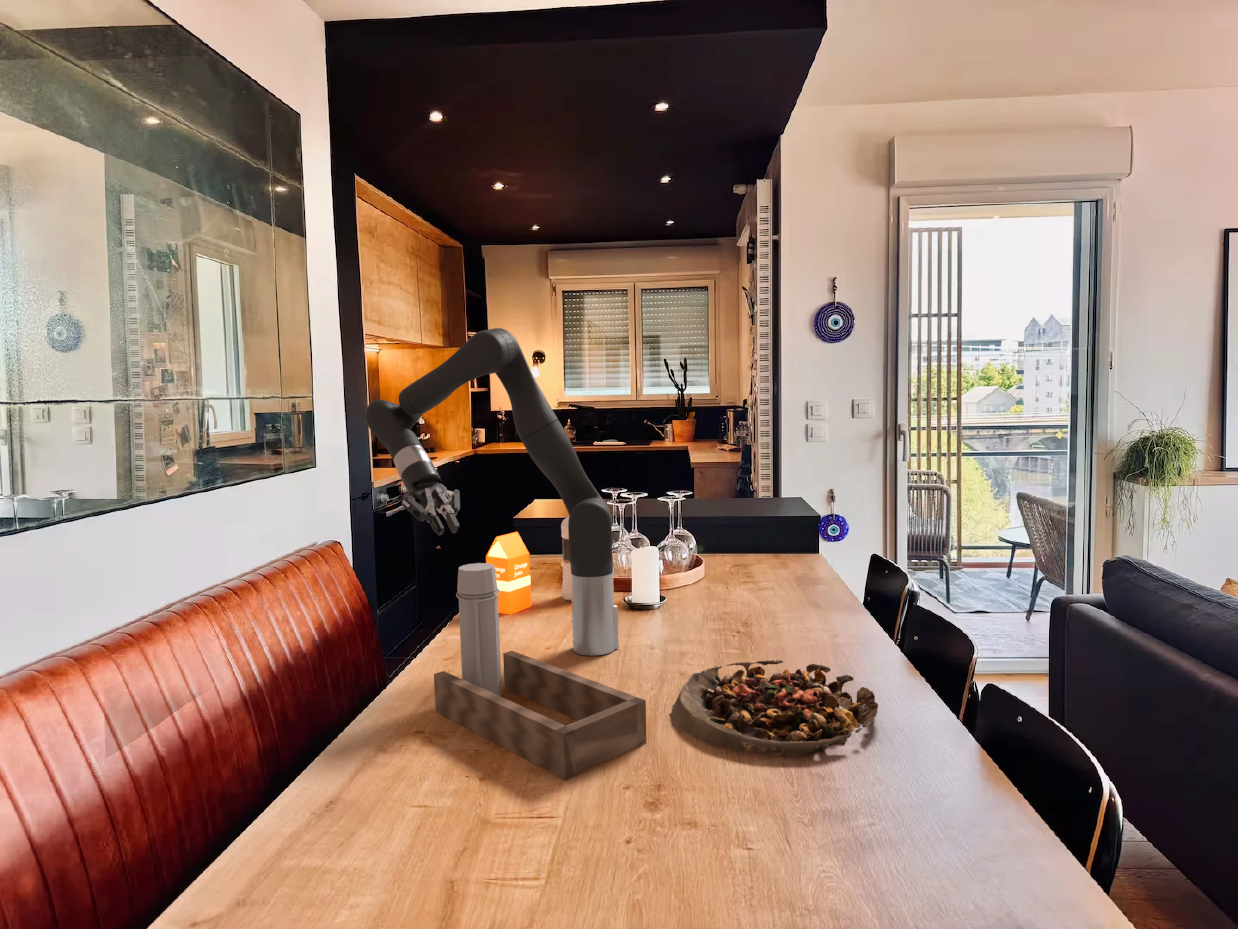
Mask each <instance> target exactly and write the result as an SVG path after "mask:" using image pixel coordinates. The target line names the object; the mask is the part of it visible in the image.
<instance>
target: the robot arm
mask: <svg viewBox="0 0 1238 929" xmlns="http://www.w3.org/2000/svg"><path fill="white" fill-rule="evenodd" d="M530 368H531V367H530V366H529V364H528V362H527V360H526V357H525V355H524V352H523V350H522V348H521V346H520V344H519V342H518V340H517V339H516V337H515V336H514V335H513V333H511V332H510V331H509V330H507V329H504V328H501V327H495V328H490V329H483V330H480V331H477V332H476V333H475V334H473V335H472V336H471V337H470V338H469V339H467V341H466V342H464V343H463V345H461V346H460V348H458V349H457V350H456V352H455V353H453V354H452V355H451V356H450V357H449V358H448V359H446V360H445V361H444V362H442V363H441V364H440V365H438V366H436V367H435V368H434V369H432V370H431V371H429V372H428V373H426V374H424V375H423V376H421V377H420V378H418V379H416V380H415V381H413V382H412V383H411V384H408V385H407V386H406V387H405V388H403V389H402V390H401V391H400V392H399V394H398V403H396V402H391V401H389V400H384V399H375V400H373V401H371V402H370V403H369V404H368V405H367V407H366V409H365V414H364V415H365V417H364V418H365V421H366V422H365V423H366V424H367V426H368V428H369V430H370V431H371V433H372V434H373V435H374V436H375V437H376V439H378V441H379V442H380V443H381V444H382V445H383V446H384V447H385V448H386V449H387V451H388V453H389V455H390V457H391V459H392V461H393V464H394V466H395V470H396V471H397V474H398V475H399V478H400V479H401V482H402V483H403V485H404V487H405V489H406V491H407V493H408V495H407V494H406V495H405V496H404V498H403V500H402V502H401V506H402V507H403V508H404V509H405V510H406V511H407V512H408V513H410V514H411V516H413V518H415V519H416V520H418V521H419V522H424V521H426V522H427V523H429V524H430V526H431V528H432V530H433V532H434V533H435V534H437V536H442V535H443V534H444V532H445V527H444V525H443V523H442V521H441V519H440V517H439V516H438V515H437V512H438V514H441V515H442V516H443V517H444V519H445V522H446V524H447V526H448V528H449V530H450V532H451V533H452V534H456V533H457V532H458V530H459V527H460V523H459V521H458V518H457V517H456V516H457V515H458V513H459V511H460V509H461V498H460V497H461V496H460V495H461V494H460V490H459V489H454V490H453V491H451V490H448V489H447V487H446V486H445V485H443V483H442V479H441V476H440V475H439V472H438V471H437V469H436V467H435V465H434V463H433V461H432V459H431V458H430V456H429V454H428V453H427V452H426V451H425V449H424V448H423V446H422V444H421V441H420V440H419V438H418V437H417V435H416V433H415V432H414V431H412V430H411V429H412V428H413V427H414V425H415V424H416V423H418V421H419V420H420V418H421V417H422V416H423V415H424V414H426V413H428V412H429V411H431V410H433V409H434V408H435V407H437V406H438V405H440V404H441V403H443V402H444V401H445V400H446V399H448V398H449V397H450V396H451V395H452V394H453V393H454V392H455V391H456V390H457V389H459V388H460V387H461V386H463V385H465V384H467V383H468V382H470V381H473V380H476V379H478V378H480V377H484V376H485V375H489V374H491V375H492V374H495V375H496V376H497V377H498V380H499V381H500V382H501V384H502V386H503V387H504V390H505V391H506V393H507V395H508V398H509V402H510V406H511V411H512V417H513V422H514V426H515V430H516V432H517V435H518V437H519V439H520V441H521V443H522V444H523V446H524V448H525V450H526V452H527V453H528V456H529V457H530V458H531V459H532V461H533V462H534V464H535V465H536V466H537V467H538V469H539V470H540V471H541V472H542V473H543V475H544V476H545V477H546V478H547V480H548V481H550V482H551V484H552V485H553V486H554V488H555V489H556V491H557V492H558V495H559V496H560V498H561V500H562V503H563V504H564V507H565V509H566V511H567V514H568V516H569V521H568V534H569V558H570V565H571V591H572V601H571V619H572V621H571V624H572V650H573V652H574V653H575V654H578V655H581V656H591V657H593V656H603V655H606V654H610V653H612V652H614V651H615V650H617V649H619V641H620V640H619V608H618V605H616V604H615V601H614V600H615V598H614V597H615V596H614V594H615V593H614V592H615V591H614V590H615V588H614V587H615V586H614V556H613V534H612V533H613V529H612V527H613V526H612V524H613V515H612V511H611V509H610V507H609V505H608V504H607V503H606V501H605V499H603V497H602V495H600V493H599V492H598V491H597V489H596V487H595V486H594V485H593V483H592V482H591V480H590V479H589V477H588V476H587V474H586V472H585V470H584V468H583V466H582V464H581V461H580V459H579V456H578V454H577V452H576V450H575V448H574V447H573V444H572V442H571V440H570V438H569V436H568V435H567V433H566V431H565V429H564V427H563V425H562V424H561V422H560V420H559V419H558V417H557V415H556V413H555V412H554V410H553V409H552V407H551V405H550V404H549V402H548V400H547V398H546V396H545V395H544V392H543V390H541V387H540V386H539V384H538V382H537V380H536V379H535V377H534V375H533V373H532V370H531V369H530ZM436 511H437V512H436Z"/></svg>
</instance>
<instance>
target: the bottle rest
mask: <svg viewBox="0 0 1238 929" xmlns="http://www.w3.org/2000/svg"><path fill="white" fill-rule="evenodd" d="M502 654H503V655H502V658H503V680H504V681H503V684H504V689H505V690H506V691H509V692H511V693H514V694H516V695H518V696H520V697H523V698H525V699H527V700H530V701H532V702H535V703H537V704H540V705H541V706H543V707H545V708H547V709H550V710H553V711H555V712H558V713H560V714H562V715H564V716H566V717H569V718H571V719H573V720H576V721H574V722H572V723H569V724H567V725H565V724H562V723H561V722H559V721H556V720H554V719H551V718H549V717H547V716H545V715H543V714H540V713H538V712H536V711H534V710H531V709H529V708H527V707H525V706H523V705H520V704H518V703H515V702H514V701H511V700H509V699H507V698H505V697H502V695H501V696H498V695H496V694H494V693H492V692H489V691H487V690H485V689H483V688H481V687H478V686H476V685H474V684H472V683H469V682H467V681H465V680H463V679H462V677H461V678H460V677H458V676H455V675H454V674H452V673H449V672H446V670H442V671H438V672H435V673H433V685H434V686H433V687H434V704H435V713H437V714H439V715H441V716H443V717H444V718H446V719H447V720H450V721H452V722H453V723H456V724H457V725H459V726H462V727H463V728H465V729H467V730H469V731H471V732H473V733H475V734H477V735H478V736H481V737H482V738H484V739H487V740H488V741H489V742H492V743H494V744H495V745H498V746H499V747H501V748H503V749H505V750H507V751H508V752H511V753H513V754H514V755H517V756H518V757H520V758H522V759H524V760H526V761H527V762H530V763H532V764H533V765H535V766H537V767H539V768H541V769H543V770H545V771H547V772H548V773H550V774H552V775H555V776H556V777H558V778H559V779H562V780H564V781H567V780H569V779H572V778H574V777H576V776H578V775H580V774H582V773H585V772H586V771H589V770H591V769H593V768H595V767H597V766H599V765H601V764H604V763H606V762H608V761H610V760H613V759H615V758H617V757H618V756H621V755H623V754H625V753H627V752H629V751H632V750H634V749H636V748H638V747H640V746H642V745H644V744H647V709H646V708H647V705H646V704H647V700H646V699H644V698H641V697H638V696H636V695H632V694H631V693H626V692H624V691H621V690H619V689H616V688H614V687H611V686H609V685H605V684H603V683H601V682H597V681H595V680H592V679H589V678H587V677H584V676H581V675H578V674H575V673H573V672H572V671H568V670H565V669H563V668H560V667H557V666H554V665H552V664H549V663H546V662H544V661H541V660H538V659H536V658H534V657H530V656H527V655H525V654H522V653H520V652H516V651H514V650H508V651H506V652H503V653H502Z"/></svg>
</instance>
